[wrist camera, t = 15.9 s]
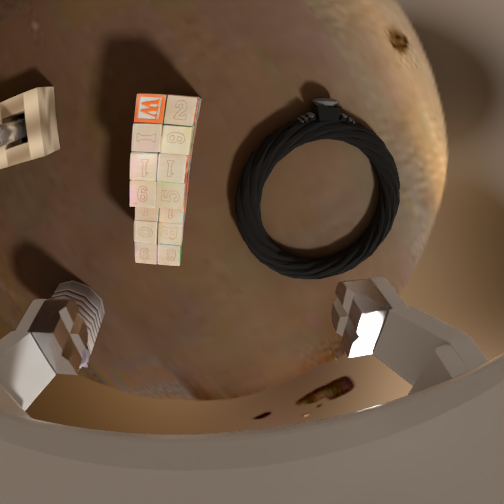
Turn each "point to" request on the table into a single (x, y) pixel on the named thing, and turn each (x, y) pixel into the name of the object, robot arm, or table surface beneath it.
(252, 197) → the cable lock
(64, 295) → the can
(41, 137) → the light wooden square frame
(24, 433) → the robot arm
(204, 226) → the table surface
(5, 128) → the silver metal rod
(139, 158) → the stack of blocks
